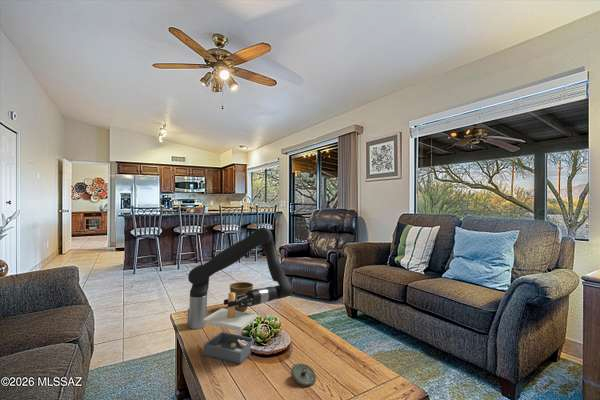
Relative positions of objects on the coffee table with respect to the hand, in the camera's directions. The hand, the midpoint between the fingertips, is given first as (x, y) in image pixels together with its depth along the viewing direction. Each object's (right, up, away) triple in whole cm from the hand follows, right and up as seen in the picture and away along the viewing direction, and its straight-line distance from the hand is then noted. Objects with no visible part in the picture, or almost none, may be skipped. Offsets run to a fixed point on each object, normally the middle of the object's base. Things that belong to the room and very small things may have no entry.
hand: (226, 303), depth 133 cm
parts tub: (+1, -23, +2) cm, 24 cm away
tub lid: (+2, -10, +2) cm, 10 cm away
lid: (+35, -25, -16) cm, 46 cm away
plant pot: (-4, -23, +54) cm, 59 cm away
